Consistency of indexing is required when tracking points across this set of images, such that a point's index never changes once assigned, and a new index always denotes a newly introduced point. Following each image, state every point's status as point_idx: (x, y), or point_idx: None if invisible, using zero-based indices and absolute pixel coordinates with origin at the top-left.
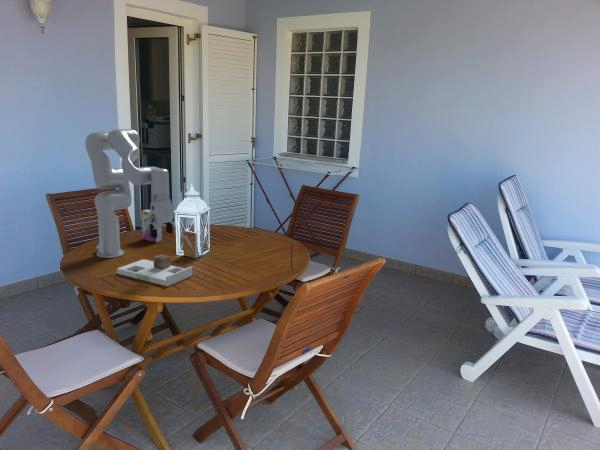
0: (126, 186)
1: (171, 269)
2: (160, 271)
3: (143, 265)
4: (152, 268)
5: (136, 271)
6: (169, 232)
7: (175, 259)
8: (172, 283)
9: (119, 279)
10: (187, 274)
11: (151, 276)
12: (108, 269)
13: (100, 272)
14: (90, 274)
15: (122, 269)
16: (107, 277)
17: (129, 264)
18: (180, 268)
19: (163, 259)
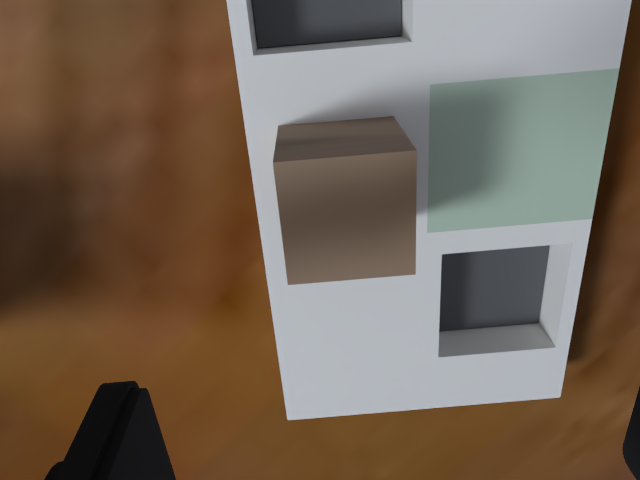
0: None
1: (327, 49)
2: (447, 87)
3: (402, 319)
4: (421, 210)
5: (450, 309)
6: (153, 436)
7: (31, 314)
8: None
9: (635, 278)
10: None
11: (616, 39)
12: (501, 455)
13: (569, 447)
14: None
15: (564, 357)
16: (631, 359)
17: (444, 401)
18: None
19: (388, 148)
